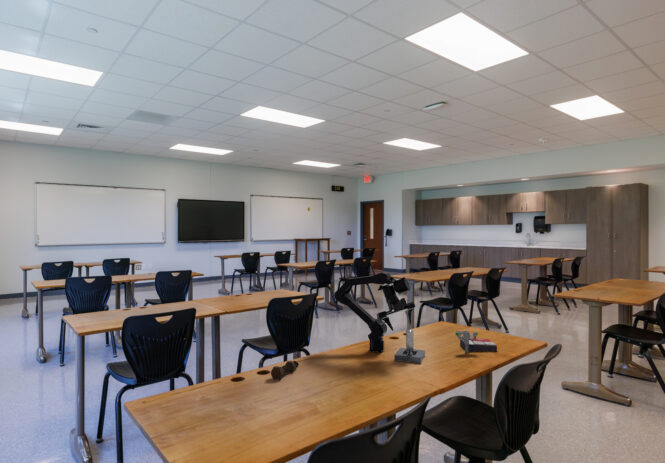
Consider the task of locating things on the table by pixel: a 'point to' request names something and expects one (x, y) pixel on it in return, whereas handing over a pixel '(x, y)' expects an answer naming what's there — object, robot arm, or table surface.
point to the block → (409, 356)
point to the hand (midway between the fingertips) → (401, 327)
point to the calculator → (479, 345)
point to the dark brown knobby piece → (283, 369)
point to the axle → (409, 342)
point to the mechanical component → (466, 337)
